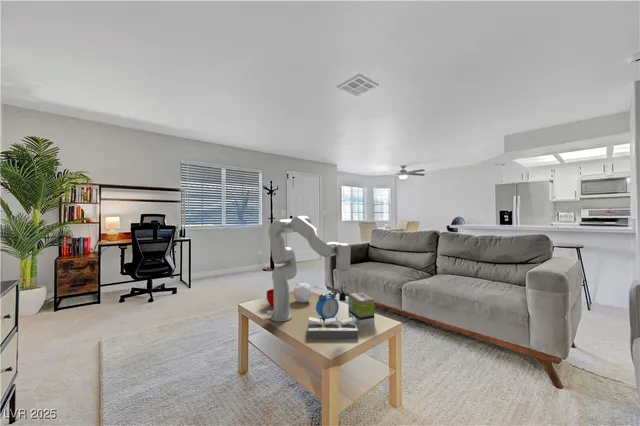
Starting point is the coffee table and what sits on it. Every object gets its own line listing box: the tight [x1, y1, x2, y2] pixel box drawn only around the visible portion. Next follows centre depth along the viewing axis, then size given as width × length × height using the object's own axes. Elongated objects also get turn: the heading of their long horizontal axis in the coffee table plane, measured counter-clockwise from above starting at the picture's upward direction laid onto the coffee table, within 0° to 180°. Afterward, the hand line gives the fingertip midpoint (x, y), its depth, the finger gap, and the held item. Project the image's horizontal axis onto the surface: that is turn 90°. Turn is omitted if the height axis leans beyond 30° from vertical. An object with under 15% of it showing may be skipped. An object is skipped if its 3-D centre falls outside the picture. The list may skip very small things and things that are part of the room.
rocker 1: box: [308, 316, 324, 325], centre depth 149 cm, size 7×4×1 cm, turn 90°
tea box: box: [347, 292, 375, 327], centre depth 165 cm, size 15×10×15 cm
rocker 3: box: [340, 317, 356, 325], centre depth 149 cm, size 7×4×1 cm, turn 90°
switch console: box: [306, 320, 359, 340], centre depth 148 cm, size 26×13×5 cm, turn 90°
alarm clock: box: [315, 292, 340, 321], centre depth 169 cm, size 13×6×15 cm, turn 121°
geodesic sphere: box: [292, 281, 313, 304], centre depth 200 cm, size 15×14×14 cm
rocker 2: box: [324, 316, 340, 325], centre depth 149 cm, size 7×4×1 cm, turn 90°
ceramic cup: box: [266, 288, 274, 308], centre depth 193 cm, size 13×17×10 cm
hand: (342, 300), depth 150 cm, fingers closed
